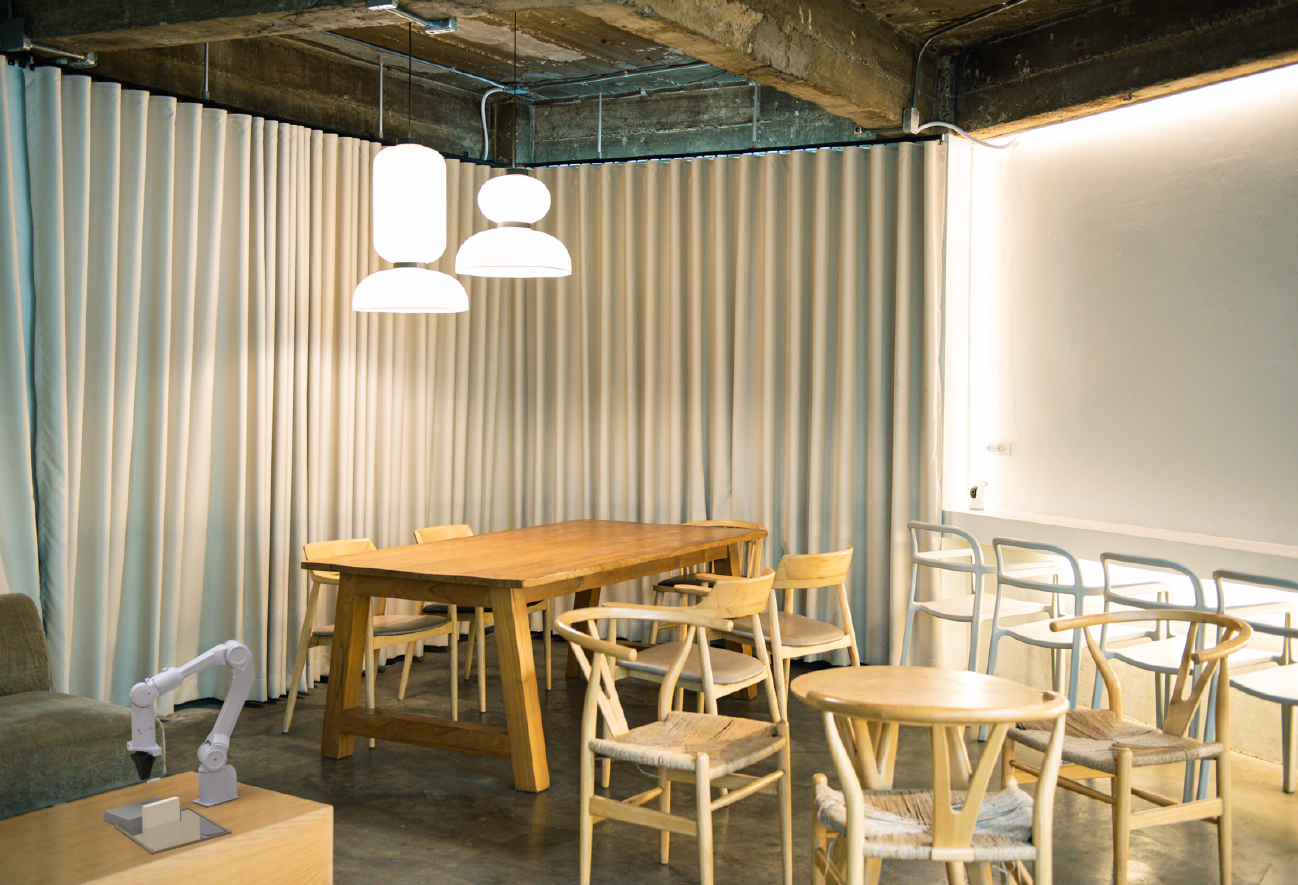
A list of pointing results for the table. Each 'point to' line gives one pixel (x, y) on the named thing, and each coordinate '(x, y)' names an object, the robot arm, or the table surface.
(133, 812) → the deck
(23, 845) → the table surface
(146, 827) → the tile
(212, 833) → the picture frame
